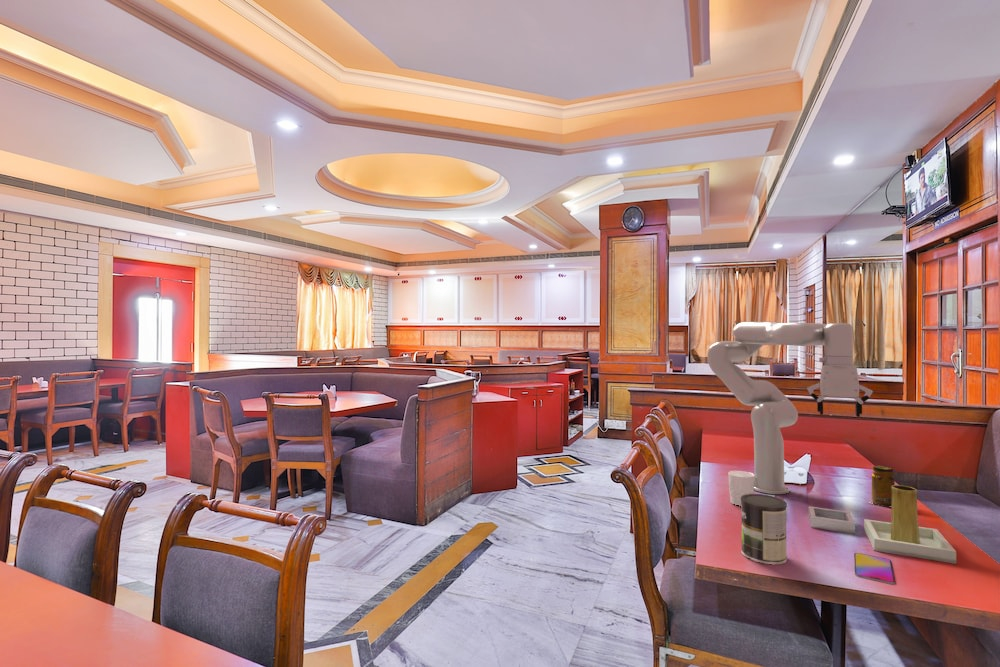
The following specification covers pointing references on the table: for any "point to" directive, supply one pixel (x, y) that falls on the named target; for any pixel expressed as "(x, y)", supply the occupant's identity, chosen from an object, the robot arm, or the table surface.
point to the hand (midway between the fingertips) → (839, 415)
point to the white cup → (740, 485)
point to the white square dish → (831, 520)
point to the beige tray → (929, 547)
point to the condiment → (882, 485)
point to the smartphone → (873, 568)
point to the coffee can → (764, 528)
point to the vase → (904, 514)
